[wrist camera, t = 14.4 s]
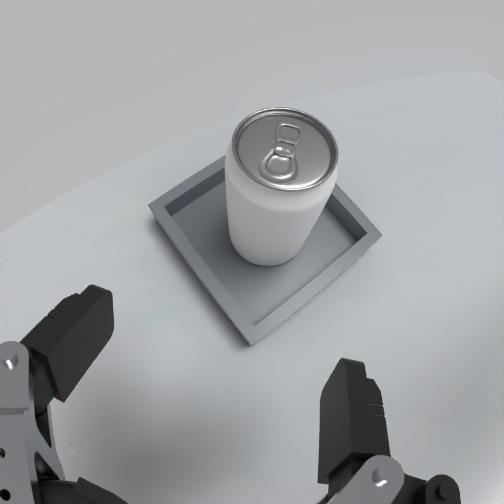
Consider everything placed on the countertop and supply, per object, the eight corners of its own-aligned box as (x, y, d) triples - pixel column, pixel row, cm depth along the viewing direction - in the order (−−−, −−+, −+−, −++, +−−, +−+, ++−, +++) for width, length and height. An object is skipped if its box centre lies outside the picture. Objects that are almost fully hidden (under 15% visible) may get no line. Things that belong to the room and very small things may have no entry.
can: (219, 256, 26) (205, 179, 14) (240, 190, 28) (243, 92, 17) (294, 276, 26) (338, 214, 14) (310, 209, 28) (350, 119, 16)
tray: (274, 144, 31) (277, 126, 28) (369, 247, 28) (382, 235, 25) (156, 219, 28) (147, 204, 25) (250, 346, 24) (252, 345, 22)
